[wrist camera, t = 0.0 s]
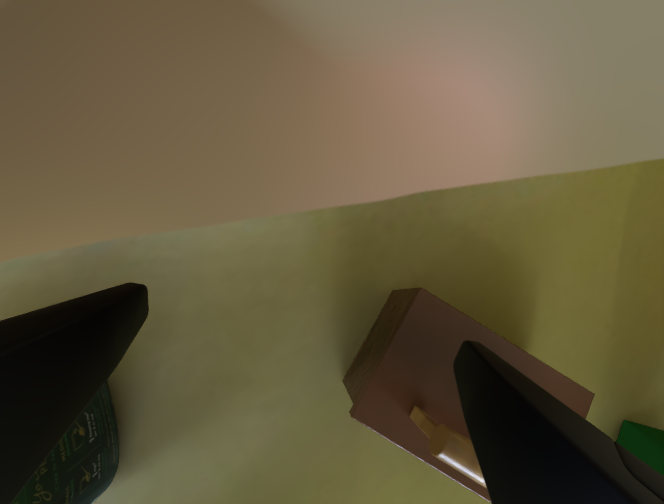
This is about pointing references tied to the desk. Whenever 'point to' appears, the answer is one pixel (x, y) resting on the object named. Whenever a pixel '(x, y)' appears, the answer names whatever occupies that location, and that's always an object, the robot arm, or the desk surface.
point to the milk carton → (643, 443)
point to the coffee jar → (79, 459)
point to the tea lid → (442, 387)
